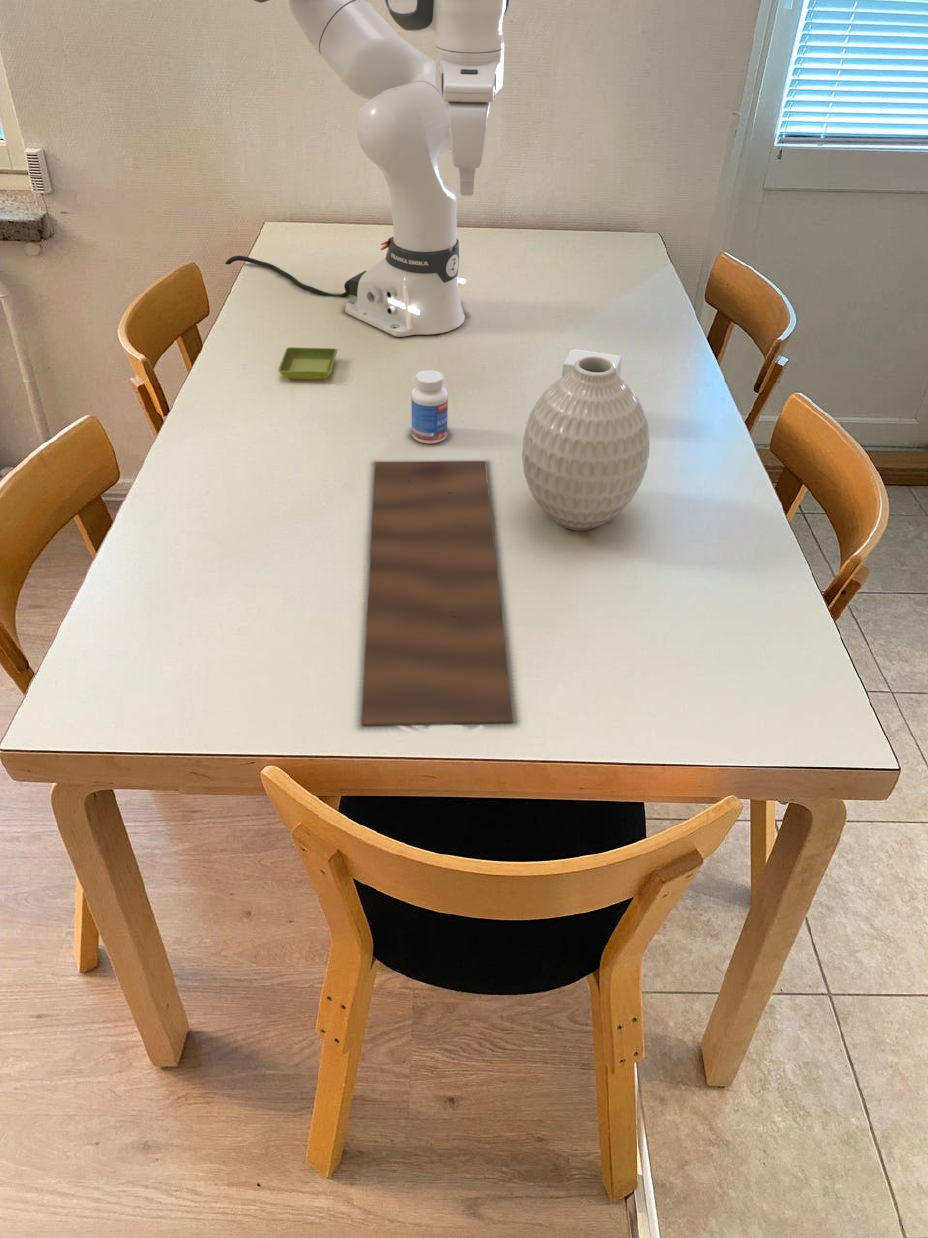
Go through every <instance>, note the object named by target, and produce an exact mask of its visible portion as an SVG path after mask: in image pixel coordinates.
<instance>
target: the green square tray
mask: <svg viewBox="0 0 928 1238" xmlns="http://www.w3.org/2000/svg"><path fill="white" fill-rule="evenodd" d="M337 352H338V348H334V347H333V348H330V347H297V346H296V347H293V346H291V347H286V349H285V351H284V352H283V355H282V359H281V361H280V364H279V367H278V370H277V372H278V373H280V374H281V375H282V376H283V377H284V378H286V379H290V380H326V379H327V378H328V377H330V375H331V373H332V371H333V367H334V363H335V360H336V356H337Z"/></svg>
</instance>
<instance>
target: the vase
mask: <svg viewBox="0 0 928 1238" xmlns="http://www.w3.org/2000/svg"><path fill="white" fill-rule="evenodd" d="M650 435H651V434H650V428H649V423H648V420H647V417H646V413H645V410H644V408H643V406H642V403H641V401H640V400H639V398H638V397H637V395H636V394H635V392H634V390H632V389H631V388H630V386H629V385H628V384H627V383H626V382H625V381H624V380H623V379H622V378H621V376H620V377H619V376H618V375H617V373H616V367H615V365H614V363H612V362H611V361H610V360H608V359H605V358H602V357H595V356H591V357H584V358H581V359H579V360H578V361H576V362H575V365H574V368H573V370H571V371H570V372H569V373H567V374H566V375H565V376H563V377H562V376H561V377H560V378H559V379H557V380H556V381H555V382H553V383H552V384H551V385H550V386H548V388H547V389H546V390H545V391H544V392H543V393H542V394H541V395H540V397H539V398H538V400H537V401H536V403H535V404H534V407H533V408H532V410H531V412H530V414H529V416H528V419H527V421H526V424H525V429H524V434H523V439H522V448H521V449H522V450H521V460H522V467H523V468H522V469H523V474H524V478H525V480H526V484H527V486H528V487H527V488H528V490H529V491H530V493H531V494H532V496H533V498H534V500H535V501H536V503H537V504H538V506H539V507H540V509H542V511H543V512H544V513H545V514H546V515H547V517H549V518H550V519H551V520H553V521H554V522H555V523H557V524H558V526H561V527H562V528H565V529H568V530H573V531H589V530H593V529H596V528H598V527H599V526H601V525H604V524H606V523H608V522H609V521H611V520H612V519H613V518H614V517H615V516H617V515H618V514H619V513H620V512H622V511H623V509H624V508H626V506H628V504H629V503H630V502H631V501H632V500H633V498H634V497H635V495H636V494H637V492H638V490H639V488H640V486H641V484H642V482H643V479H644V477H645V474H646V471H647V468H648V463H649V457H650V442H651V437H650Z"/></svg>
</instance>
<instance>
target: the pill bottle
mask: <svg viewBox="0 0 928 1238" xmlns="http://www.w3.org/2000/svg"><path fill="white" fill-rule="evenodd" d="M448 394H449V392H448V390H447V389H446V387H444V375H443V373H442V372H440V371H438V370H433V369H426V370H421V371H418V373H417V374H416V375H415V386H414V387H413V389H412V391H411V395H410V397H411V400H410V403H411V404H410V405H411V436H412V438H413V439H414V440H416V441H417V442H420V443H423V444H437V443H440V442H442V441H444V440H445V439H446V438H447V436H448V419H449V418H448V417H449V416H448V414H449V413H448V408H449V406H448V405H449V395H448Z"/></svg>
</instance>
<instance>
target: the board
mask: <svg viewBox="0 0 928 1238" xmlns="http://www.w3.org/2000/svg"><path fill="white" fill-rule="evenodd" d="M370 540H371V541H370V555H369V558H370V559H369V575H368V576H369V577H368V578H369V579H368V592H367V593H368V595H367V615H366V632H365V633H366V634H365V652H364V653H365V654H364V656H365V657H364V669H363V670H364V673H363V687H362V688H363V691H362V692H363V693H362V707H361V708H362V710H361V726H391V725H392V726H393V725H394V726H395V725H396V726H397V725H399V726H400V725H446V724H451V725H452V724H455V725H456V724H500V723H503V724H504V723H513V722H514V718H513V708H512V697H511V689H510V688H511V687H510V679H509V671H508V670H509V669H508V662H507V652H506V643H505V641H506V640H505V633H504V623H503V615H502V614H503V613H502V606H501V605H502V604H501V595H500V586H499V577H498V565H497V557H496V547H495V539H494V530H493V520H492V509H491V501H490V492H489V482H488V472H487V462H486V461H485V460H471V461H470V460H469V461H465V460H463V461H461V460H460V461H459V460H458V461H457V460H456V461H455V460H454V461H453V460H450V461H448V460H447V461H375V462H374V480H373V499H372V517H371V536H370Z"/></svg>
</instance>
